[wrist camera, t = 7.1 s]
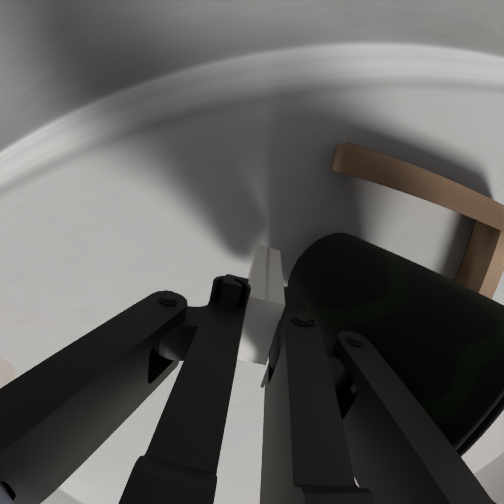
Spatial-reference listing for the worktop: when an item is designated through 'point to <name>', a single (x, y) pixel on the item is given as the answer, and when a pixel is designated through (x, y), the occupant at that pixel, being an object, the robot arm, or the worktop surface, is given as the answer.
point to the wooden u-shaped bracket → (444, 194)
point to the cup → (412, 328)
